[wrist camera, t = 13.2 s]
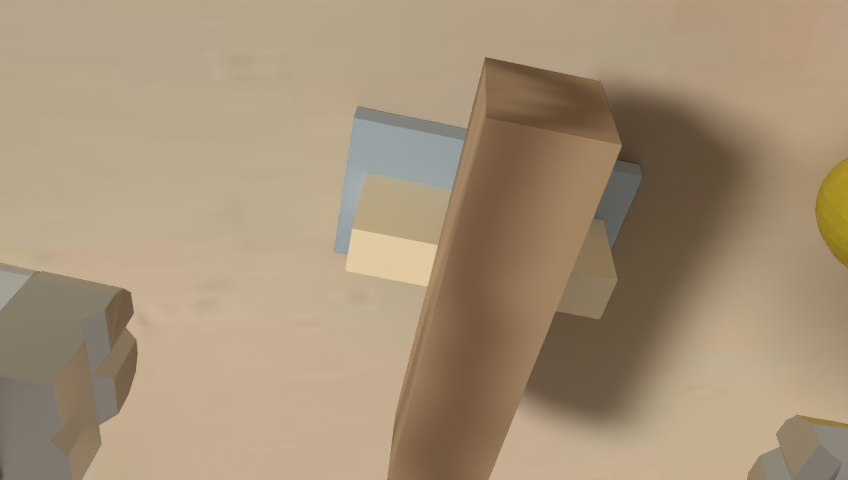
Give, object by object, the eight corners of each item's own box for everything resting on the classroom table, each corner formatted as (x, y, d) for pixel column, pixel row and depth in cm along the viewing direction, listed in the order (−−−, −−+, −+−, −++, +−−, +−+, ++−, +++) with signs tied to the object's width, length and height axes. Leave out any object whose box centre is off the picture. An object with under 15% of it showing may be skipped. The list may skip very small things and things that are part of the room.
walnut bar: (600, 81, 27) (622, 145, 23) (476, 427, 38) (476, 510, 34) (485, 57, 27) (485, 117, 22) (395, 412, 38) (385, 494, 34)
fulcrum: (638, 164, 35) (663, 234, 31) (586, 287, 40) (600, 365, 35) (357, 106, 35) (337, 169, 30) (337, 238, 39) (317, 312, 34)
